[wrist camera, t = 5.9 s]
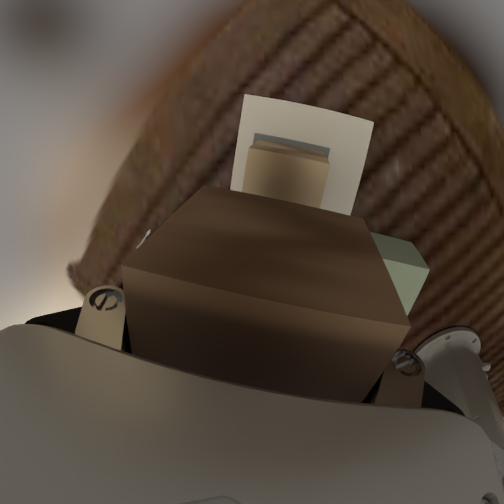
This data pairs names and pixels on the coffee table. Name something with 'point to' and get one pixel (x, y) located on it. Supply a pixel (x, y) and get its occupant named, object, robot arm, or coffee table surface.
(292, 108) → the board
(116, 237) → the coffee table surface
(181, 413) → the robot arm
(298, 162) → the oak block
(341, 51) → the coffee table surface
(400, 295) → the sage block
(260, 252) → the walnut block
